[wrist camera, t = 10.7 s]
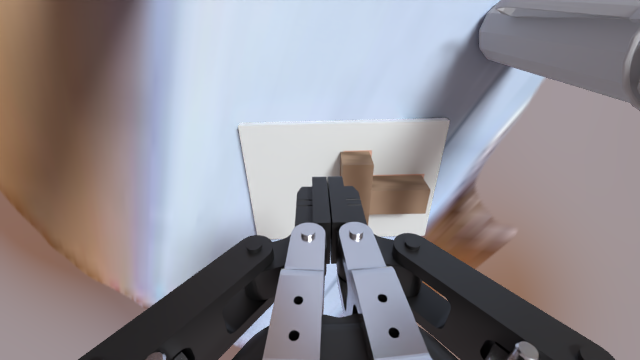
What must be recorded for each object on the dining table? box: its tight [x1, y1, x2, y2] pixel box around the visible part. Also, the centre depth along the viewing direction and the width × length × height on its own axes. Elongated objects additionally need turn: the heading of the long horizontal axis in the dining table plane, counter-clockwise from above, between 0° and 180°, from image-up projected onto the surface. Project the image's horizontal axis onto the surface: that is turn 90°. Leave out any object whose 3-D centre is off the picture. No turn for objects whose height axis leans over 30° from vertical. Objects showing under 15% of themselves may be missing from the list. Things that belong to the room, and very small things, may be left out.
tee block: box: [340, 151, 431, 226], centre depth 41 cm, size 12×12×4 cm
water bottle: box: [479, 0, 640, 111], centre depth 23 cm, size 9×8×25 cm
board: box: [238, 118, 450, 239], centre depth 44 cm, size 28×20×1 cm
